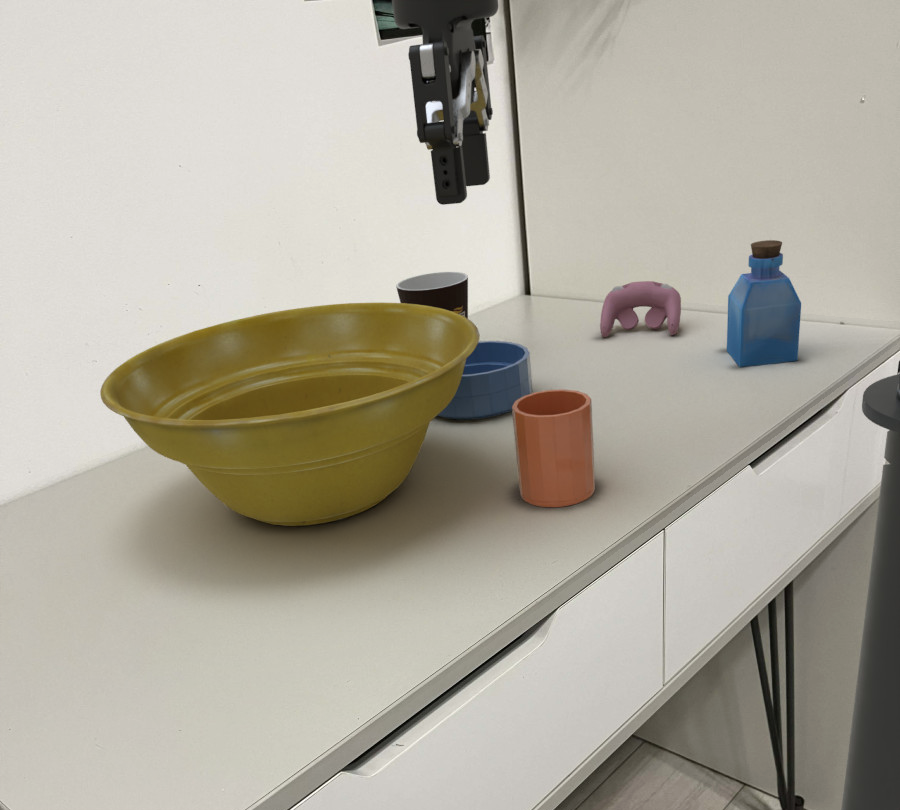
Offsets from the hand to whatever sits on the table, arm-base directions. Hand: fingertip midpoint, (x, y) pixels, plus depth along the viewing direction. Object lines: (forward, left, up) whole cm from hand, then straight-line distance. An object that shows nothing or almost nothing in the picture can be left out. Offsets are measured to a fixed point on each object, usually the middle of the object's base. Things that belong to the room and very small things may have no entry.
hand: (465, 193), depth 74 cm
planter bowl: (+16, +3, -24) cm, 29 cm away
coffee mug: (+15, -34, -24) cm, 44 cm away
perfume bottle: (-24, -32, -24) cm, 47 cm away
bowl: (+6, -20, -24) cm, 32 cm away
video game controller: (-10, -44, -24) cm, 51 cm away
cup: (-6, +3, -24) cm, 25 cm away
